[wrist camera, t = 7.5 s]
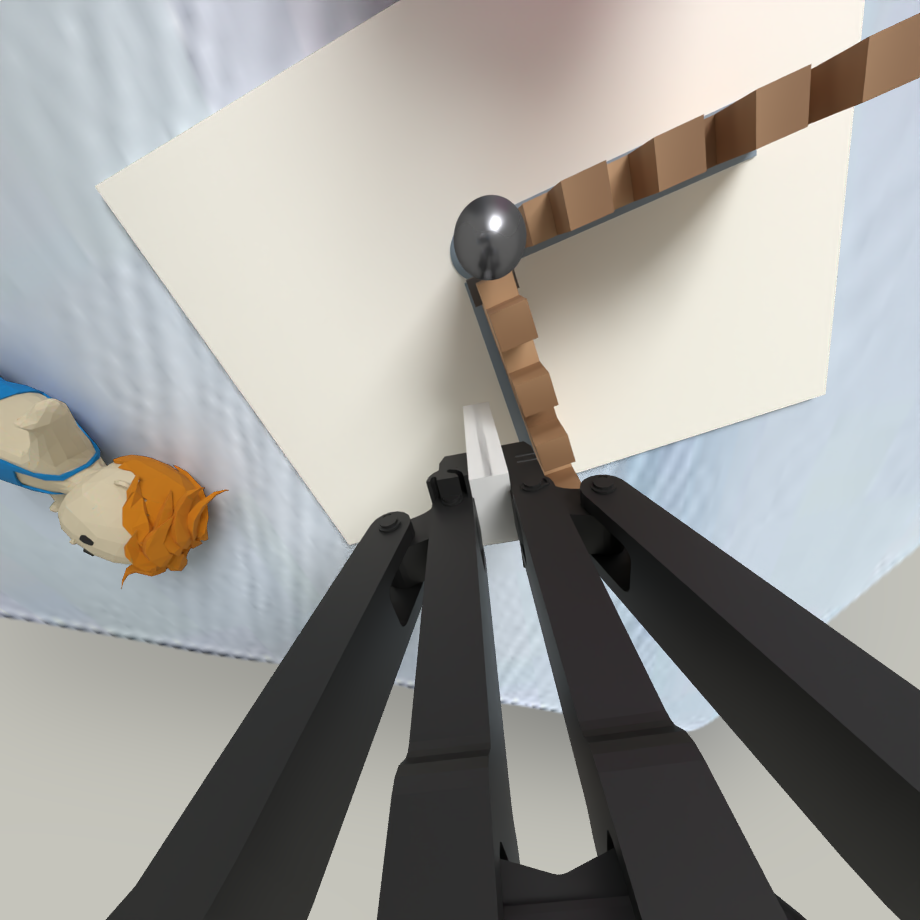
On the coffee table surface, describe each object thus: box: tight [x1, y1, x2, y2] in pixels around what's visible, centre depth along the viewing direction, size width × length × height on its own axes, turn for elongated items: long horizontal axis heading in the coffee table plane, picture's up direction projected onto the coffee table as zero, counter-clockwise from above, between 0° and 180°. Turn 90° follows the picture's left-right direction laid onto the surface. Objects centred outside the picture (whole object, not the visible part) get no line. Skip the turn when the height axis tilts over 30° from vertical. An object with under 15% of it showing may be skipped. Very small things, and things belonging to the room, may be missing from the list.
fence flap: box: [466, 269, 581, 489], centre depth 15 cm, size 10×2×7 cm, turn 23°
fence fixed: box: [518, 13, 920, 248], centre depth 12 cm, size 10×1×7 cm, turn 111°
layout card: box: [95, 0, 865, 545], centre depth 17 cm, size 21×29×1 cm
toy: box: [0, 377, 229, 589], centre depth 19 cm, size 12×6×15 cm
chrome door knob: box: [453, 195, 527, 281], centre depth 12 cm, size 2×2×8 cm
